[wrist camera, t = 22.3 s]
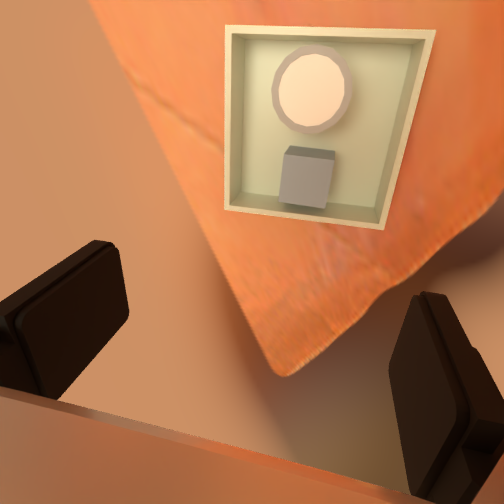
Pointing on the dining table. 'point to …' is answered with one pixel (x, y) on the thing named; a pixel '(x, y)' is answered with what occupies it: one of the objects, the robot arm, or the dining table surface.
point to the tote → (334, 138)
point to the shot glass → (311, 89)
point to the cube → (306, 176)
